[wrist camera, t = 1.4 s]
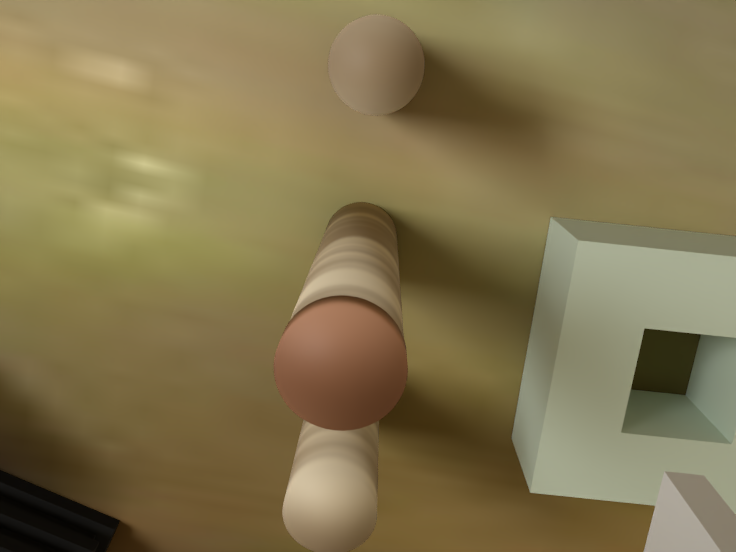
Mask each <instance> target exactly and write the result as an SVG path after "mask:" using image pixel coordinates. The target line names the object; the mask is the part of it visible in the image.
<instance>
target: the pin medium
mask: <svg viewBox="0 0 736 552" xmlns="http://www.w3.org/2000/svg"><path fill="white" fill-rule="evenodd" d="M378 443H379V421H377V422H375V423H373V424H371V425H369V426H366V427H363V428H360V429H355V430H346V431H338V430H329V429H325V428H321V427H318V426H315V425H313V424H311V423H309V422H307V421H305V420H303V425H302V429H301V433H300V437H299V441H298V445H297V450H296V454H295V458H294V462H293V466H292V470H291V474H290V479H289V483H288V487H287V491H286V495H285V499H284V504H283V520H284V523H285V526H286V528H287V530H288V532H289V533H290V535H291V536H292V537H293V538H294V539H295V540H296V541H297V542H298V543H299V544H301V545H302V546H304V547H306V548H307V549H309V550H312V551H315V552H348V551H350V550H353V549H355V548H357V547H358V546H360V545H361V544H362V543H364V542H365V541H366V540H367V539H368V538H369V536H370V535H371V533H372V532H373V530H374V527H375V525H376V520H377V489H378Z"/></svg>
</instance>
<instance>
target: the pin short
mask: <svg viewBox="0 0 736 552" xmlns="http://www.w3.org/2000/svg"><path fill="white" fill-rule="evenodd" d="M424 71H425V59H424V53H423V50H422V47H421V44H420V42H419V40H418V38H417V37H416V35H415V34H414V32H413V31H412V30H411V29H410V28H409V27H408V26H407V25H406V24H404V23H403V22H401V21H400V20H398V19H395V18H393V17H390V16H386V15H377V14H374V15H367V16H363V17H360V18H358V19H356V20H354V21H352V22H350V23H349V24H348V25H346V26H345V27H344V28H343V29H342V30H341V31H340V33H339V34H338V35H337V37H336V38H335V40H334V42H333V44H332V47H331V49H330V53H329V59H328V72H329V77H330V81H331V84H332V86H333V88H334V90H335V92H336V94H337V95H338V96H339V98H340V99H341V100H342V101H343V102H344V103H345V104H346V105H347V106H349V107H350V108H352V109H353V110H355V111H357V112H360V113H363V114H367V115H376V116H378V115H386V114H390V113H393V112H395V111H397V110H399V109H401V108H402V107H404V106H405V105H407V104H408V103H409V102H410V101H411V100H412V98H413V97H414V96H415V95H416V93H417V91H418V90H419V88H420V86H421V83H422V80H423V76H424Z"/></svg>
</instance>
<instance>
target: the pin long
mask: <svg viewBox="0 0 736 552" xmlns="http://www.w3.org/2000/svg"><path fill="white" fill-rule="evenodd" d="M407 372H408V367H407V354H406V345H405V341H404V335H403V320H402V305H401V290H400V275H399V259H398V244H397V232H396V227H395V225H394V222H393V221H392V219H391V217H390V216H389V215H388V214H387V213H386V212H385V211H384V210H383V209H381V208H380V207H378V206H376V205H373V204H370V203H365V202H358V203H352V204H349V205H346V206H344V207H342V208H341V209H339V210H338V211H337V212H336V213H335V214H334V215H333V216H332V218H331V219H330V221H329V223H328V226H327V228H326V231H325V233H324V236H323V238H322V241H321V243H320V246H319V248H318V251H317V254H316V256H315V259H314V261H313V264H312V266H311V269H310V271H309V274H308V276H307V279H306V281H305V284H304V286H303V289H302V291H301V294H300V297H299V299H298V302H297V304H296V307H295V309H294V312H293V314H292V317H291V319H290V321H289V323H288V325H287V326H286V328H285V330H284V332H283V335H282V337H281V340H280V342H279V345H278V347H277V350H276V354H275V359H274V376H275V381H276V385H277V388H278V390H279V392H280V395H281V396H282V398H283V400H284V401H285V403H286V404H287V405H288V406H289V408H290V409H291V410H292V411H293V412H294V413H295V414H297V415H298V416H299V417H301V418H302V419H304V420H305V421H307V422H309V423H311V424H313V425H315V426H318V427H321V428H325V429H329V430H338V431H346V430H355V429H360V428H363V427H366V426H369V425H371V424H373V423H375V422H377V421H379V420H380V419H382V418H383V417H384V416H386V415H387V414H388V413H389V412H390V411H391V410H392V409H393V408H394V407H395V405H396V404H397V403H398V401H399V400H400V398H401V396H402V394H403V391H404V388H405V386H406V381H407Z"/></svg>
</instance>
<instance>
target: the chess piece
mask: <svg viewBox="0 0 736 552" xmlns="http://www.w3.org/2000/svg"><path fill="white" fill-rule="evenodd" d="M118 524H119V520H117V519H114V518H112V517H110V516H107V515H105V514H103V513H100V512H98V511H95V510H93V509H91V508H88V507H86V506H83V505H81V504H79V503H76V502H74V501H72V500H69V499H67V498H64V497H62V496H60V495H57V494H55V493H53V492H50V491H48V490H45V489H43V488H41V487H38V486H36V485H34V484H31V483H29V482H26V481H24V480H22V479H19V478H17V477H14V476H12V475H10V474H7V473H5V472H3V471H0V552H106V550H107V548H108V546H109V544H110V542H111V539H112V537H113V535H114V533H115V530H116V528H117V526H118Z"/></svg>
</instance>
